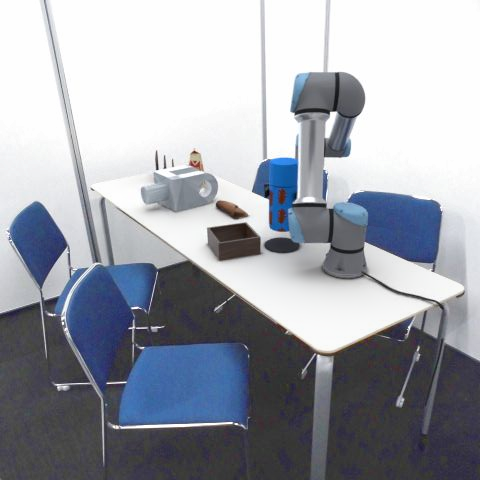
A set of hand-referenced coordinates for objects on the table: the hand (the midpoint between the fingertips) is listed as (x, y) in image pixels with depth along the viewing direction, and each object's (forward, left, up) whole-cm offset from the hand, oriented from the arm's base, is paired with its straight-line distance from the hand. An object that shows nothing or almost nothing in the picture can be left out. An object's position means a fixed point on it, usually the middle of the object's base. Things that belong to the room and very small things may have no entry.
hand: (280, 196), depth 173 cm
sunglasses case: (+47, +5, -22) cm, 52 cm away
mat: (+3, -3, -21) cm, 22 cm away
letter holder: (+116, +23, -22) cm, 120 cm away
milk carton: (+95, +9, -22) cm, 98 cm away
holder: (+7, +16, -21) cm, 28 cm away
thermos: (+3, -3, -14) cm, 14 cm away
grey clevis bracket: (+68, +25, -22) cm, 76 cm away
